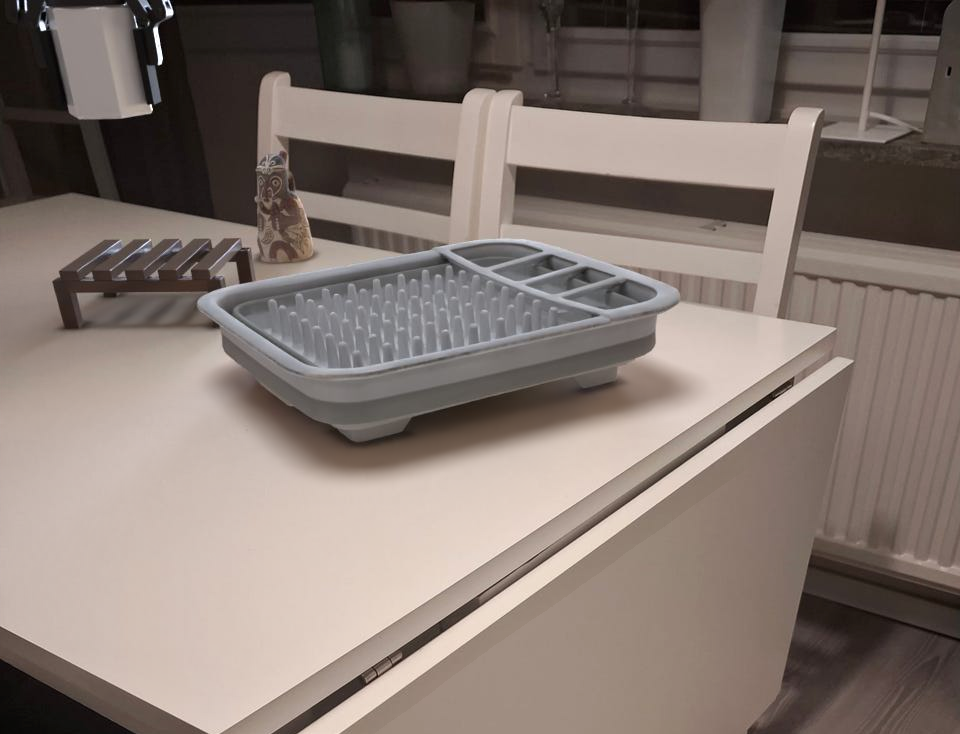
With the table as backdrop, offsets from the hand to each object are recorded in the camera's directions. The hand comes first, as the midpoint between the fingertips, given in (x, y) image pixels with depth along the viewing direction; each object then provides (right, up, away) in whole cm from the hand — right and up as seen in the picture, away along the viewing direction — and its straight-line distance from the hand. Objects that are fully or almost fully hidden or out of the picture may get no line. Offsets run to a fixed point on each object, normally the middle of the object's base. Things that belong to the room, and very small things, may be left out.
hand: (109, 103), depth 106 cm
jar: (0, -1, +1) cm, 1 cm away
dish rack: (+35, -34, -12) cm, 50 cm away
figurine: (+14, -4, +26) cm, 30 cm away
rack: (+4, -19, +7) cm, 21 cm away
